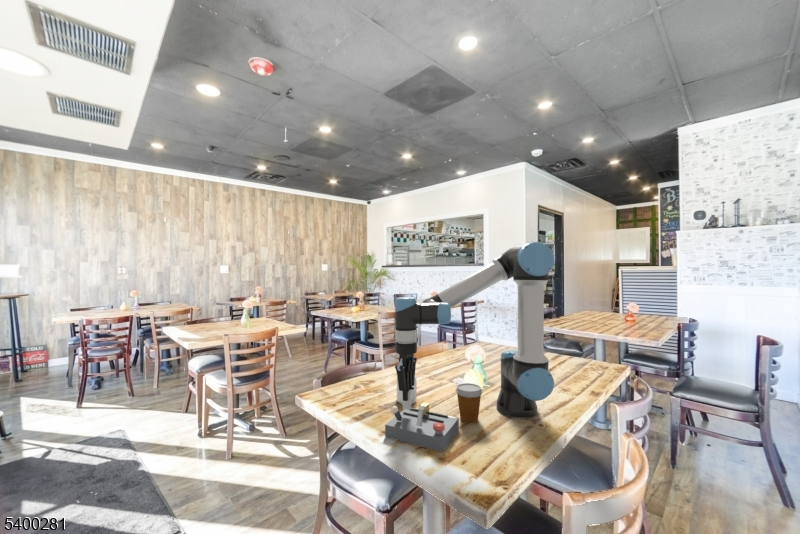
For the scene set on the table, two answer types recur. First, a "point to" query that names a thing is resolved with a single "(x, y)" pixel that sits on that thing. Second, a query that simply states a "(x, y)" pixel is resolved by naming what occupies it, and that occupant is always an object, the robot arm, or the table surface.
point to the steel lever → (420, 415)
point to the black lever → (396, 413)
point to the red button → (439, 428)
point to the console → (422, 429)
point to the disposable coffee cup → (469, 402)
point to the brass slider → (426, 409)
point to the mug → (413, 393)
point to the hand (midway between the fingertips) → (407, 408)
